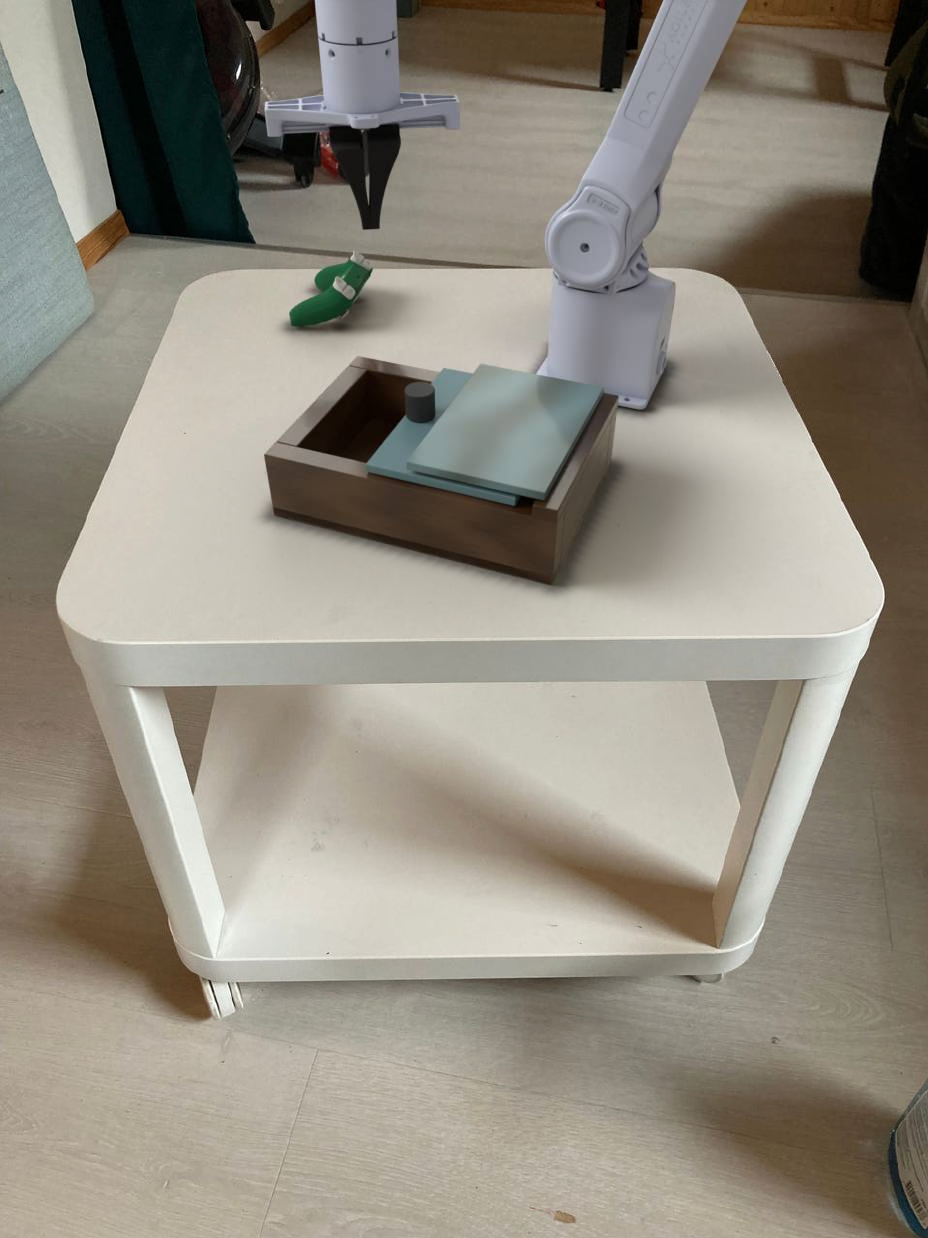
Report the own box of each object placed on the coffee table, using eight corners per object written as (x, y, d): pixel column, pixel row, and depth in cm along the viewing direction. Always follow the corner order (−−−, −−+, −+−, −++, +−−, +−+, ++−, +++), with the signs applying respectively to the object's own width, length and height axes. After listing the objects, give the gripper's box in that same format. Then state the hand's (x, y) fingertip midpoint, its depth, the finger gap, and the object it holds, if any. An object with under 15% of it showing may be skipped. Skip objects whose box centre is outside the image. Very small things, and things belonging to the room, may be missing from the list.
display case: (610, 466, 71) (620, 386, 67) (552, 585, 62) (558, 501, 57) (362, 413, 77) (355, 335, 72) (273, 515, 67) (259, 433, 63)
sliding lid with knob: (576, 401, 68) (579, 367, 66) (515, 506, 59) (516, 470, 58) (443, 374, 71) (443, 341, 69) (366, 471, 62) (363, 436, 60)
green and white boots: (314, 351, 87) (357, 311, 84) (281, 319, 86) (324, 277, 82) (343, 304, 94) (384, 266, 90) (314, 275, 92) (354, 234, 89)
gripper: (254, 53, 67) (280, 249, 76) (465, 46, 68) (464, 239, 78) (257, 27, 72) (281, 214, 81) (453, 21, 73) (454, 205, 83)
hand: (370, 224), depth 80 cm, fingers closed
